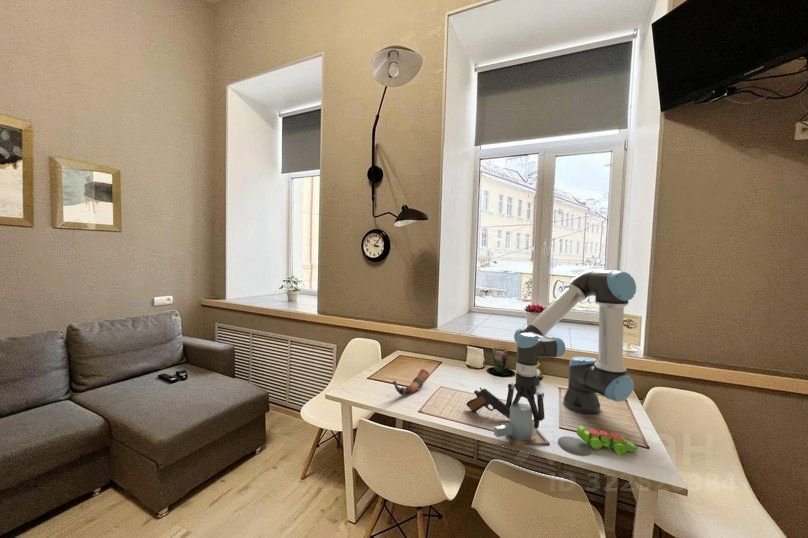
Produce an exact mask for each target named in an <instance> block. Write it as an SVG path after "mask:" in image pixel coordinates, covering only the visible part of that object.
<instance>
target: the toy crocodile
mask: <svg viewBox="0 0 808 538" xmlns="http://www.w3.org/2000/svg"><path fill="white" fill-rule="evenodd" d="M585 429H586V428H585V427H584V426H583V425H579V426H577V428H576V435H577V436H578V438H579V439H580V440H583V441H584V442H586V443H588V444H589V445H590V447H591V448H593V449H594V450H600V449H602V446H603V447H607V448H609V447H610V446H611V448H612V449H613V451H614V452H615V454H617V455H626V453H627V451H628V452H631V453H632V452H633V453H635V452H636V451H638V447H637V445H635V444H634V443H633V442H632V441H629V440H627V439H625V438H624V437H623V436H622V435H620V434H615V433H608V432H607V431H603V430H599V431H597V430H596V429H589V430H588V429H587V430H585Z"/></svg>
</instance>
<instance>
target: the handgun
mask: <svg viewBox="0 0 808 538" xmlns="http://www.w3.org/2000/svg"><path fill="white" fill-rule="evenodd" d="M479 390H480V391H479ZM479 390H477V389H476V390H474V391H473V393H474V394H475V395H476V397H474V398H473V399H470V400H469V401H467V403H466V404H465V405H466V406H467V407H468V408H469V410H471V411H472V413H476V412H477V411H479V410H481V409H482V408H486V409H487V410H489V411H490V412H493V411H494V410H496V411H497V412H498V413H500V414H501V415H503V416H504V417H506V418H507V419H508V420H509V419H510V409H509V408H507V407H506V403H504V402H503V401H502V400H500V399H499V398H498V397H496V396H495V394H492V392H491V391H489V390H488V389H486V388H482V387H479ZM489 405H490V406H491V407H492V409H491V408H490V407H489Z"/></svg>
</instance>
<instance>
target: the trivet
mask: <svg viewBox="0 0 808 538" xmlns="http://www.w3.org/2000/svg"><path fill="white" fill-rule="evenodd" d="M557 442H558V443H557V444H558V446H559V447H560V448H561V449H562V450H564V451H566V452H568V453H570V454H573V455H576V456H589V455H591V454H592V451H593V449H592V447H591V445H590V443H588V442H585V441H583V440H582V439H581V438H579V437H574V436H567V435H565V436H561V437H559V438H558V440H557Z"/></svg>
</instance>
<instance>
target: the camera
mask: <svg viewBox="0 0 808 538" xmlns="http://www.w3.org/2000/svg"><path fill="white" fill-rule="evenodd" d="M536 376H537V378H536V386H538V385H539V383H541V371H540V369H537V374H536Z"/></svg>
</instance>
